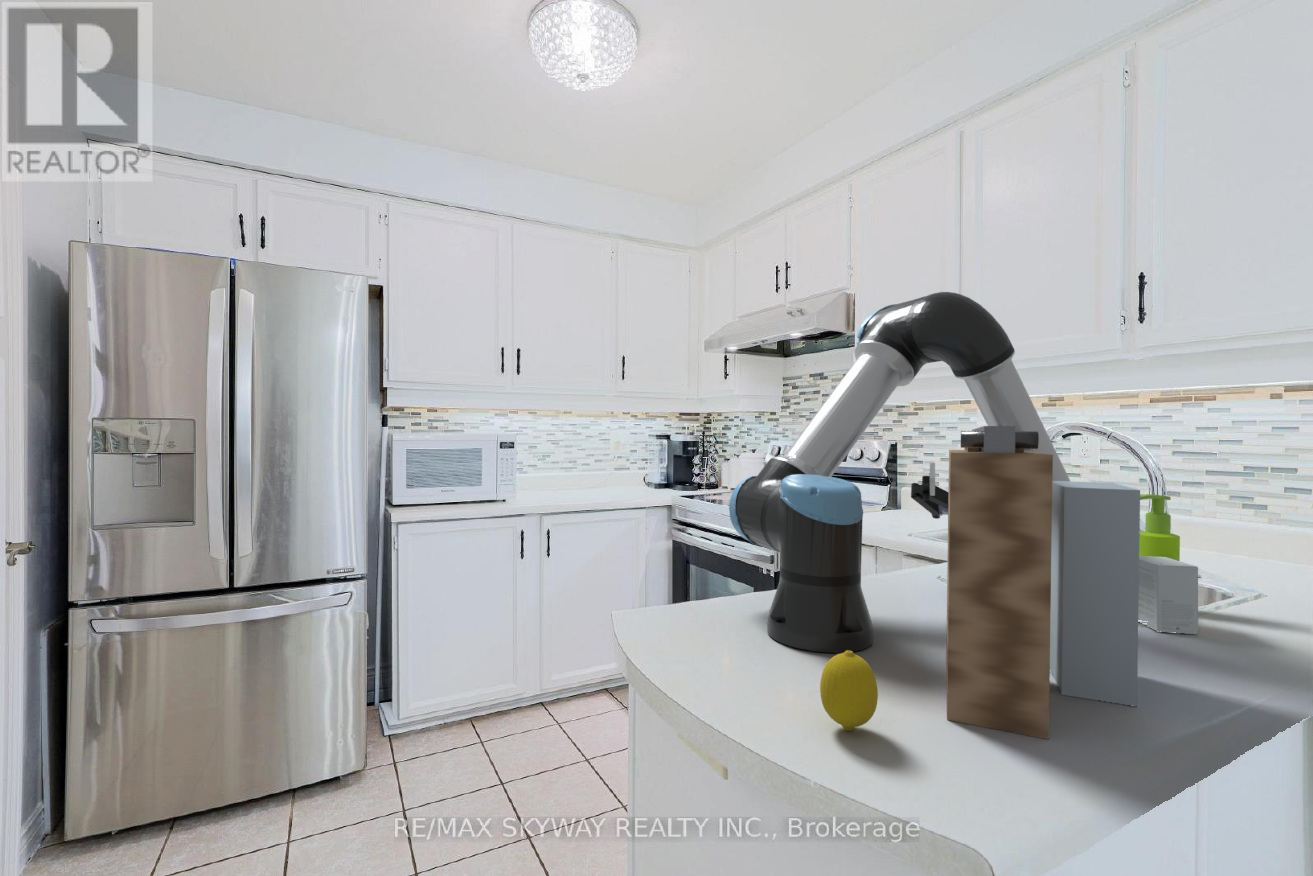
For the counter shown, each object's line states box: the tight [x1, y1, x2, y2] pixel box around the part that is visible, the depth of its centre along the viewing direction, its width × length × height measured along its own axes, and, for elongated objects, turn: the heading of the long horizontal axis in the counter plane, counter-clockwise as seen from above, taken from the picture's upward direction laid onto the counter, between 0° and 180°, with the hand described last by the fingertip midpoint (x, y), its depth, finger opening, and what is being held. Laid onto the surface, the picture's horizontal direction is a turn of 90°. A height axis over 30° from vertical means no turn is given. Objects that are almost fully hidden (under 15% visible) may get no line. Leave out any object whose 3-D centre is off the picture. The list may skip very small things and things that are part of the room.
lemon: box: [819, 650, 879, 732], centre depth 60 cm, size 6×6×8 cm
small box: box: [1138, 556, 1199, 635], centre depth 96 cm, size 8×6×10 cm
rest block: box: [1050, 480, 1141, 707], centre depth 73 cm, size 7×12×24 cm, turn 154°
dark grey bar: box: [960, 425, 1039, 454], centre depth 74 cm, size 7×28×3 cm, turn 154°
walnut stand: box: [945, 448, 1053, 740], centre depth 69 cm, size 9×18×29 cm, turn 155°
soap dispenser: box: [1139, 493, 1181, 562], centre depth 106 cm, size 6×7×20 cm
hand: (981, 471), depth 92 cm, fingers open, 13 cm apart
